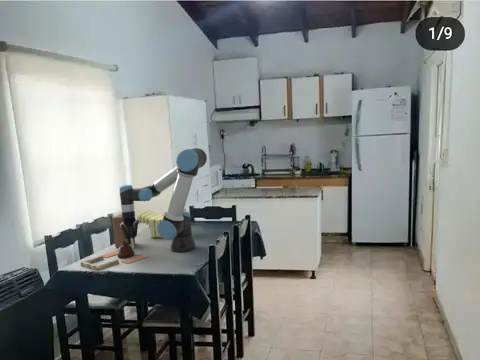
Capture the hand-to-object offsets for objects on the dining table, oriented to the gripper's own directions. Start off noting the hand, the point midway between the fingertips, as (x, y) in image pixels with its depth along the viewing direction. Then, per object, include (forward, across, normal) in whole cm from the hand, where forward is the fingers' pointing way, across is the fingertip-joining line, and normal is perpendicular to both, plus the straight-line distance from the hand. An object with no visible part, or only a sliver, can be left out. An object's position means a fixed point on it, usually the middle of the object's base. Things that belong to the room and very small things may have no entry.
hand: (131, 248), depth 252 cm
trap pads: (+3, +6, 0) cm, 7 cm away
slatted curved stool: (+3, -38, -17) cm, 42 cm away
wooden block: (+3, -9, -21) cm, 23 cm away
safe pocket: (+3, +22, 0) cm, 22 cm away
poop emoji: (+3, +5, 0) cm, 6 cm away
